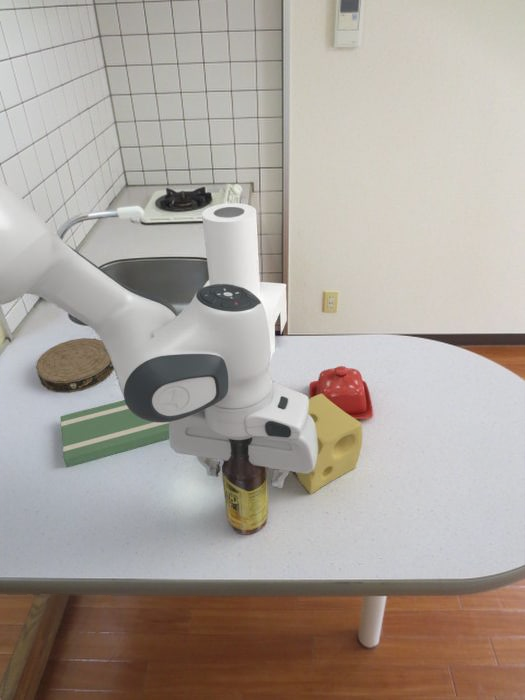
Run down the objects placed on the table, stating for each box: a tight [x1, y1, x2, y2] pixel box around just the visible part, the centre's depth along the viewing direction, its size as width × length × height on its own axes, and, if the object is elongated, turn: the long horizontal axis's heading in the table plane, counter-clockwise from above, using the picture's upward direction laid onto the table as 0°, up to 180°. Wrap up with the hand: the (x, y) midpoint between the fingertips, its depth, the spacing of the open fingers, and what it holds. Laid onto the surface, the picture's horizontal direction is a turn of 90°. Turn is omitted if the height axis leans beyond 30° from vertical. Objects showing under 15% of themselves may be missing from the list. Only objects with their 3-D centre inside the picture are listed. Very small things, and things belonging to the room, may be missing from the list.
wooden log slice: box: [35, 337, 114, 394], centre depth 113 cm, size 16×16×3 cm
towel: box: [60, 399, 169, 468], centre depth 97 cm, size 22×12×2 cm, turn 111°
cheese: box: [291, 394, 363, 495], centre depth 86 cm, size 10×11×10 cm
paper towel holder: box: [201, 202, 288, 361], centre depth 114 cm, size 19×19×30 cm
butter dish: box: [308, 365, 374, 420], centre depth 99 cm, size 12×12×8 cm
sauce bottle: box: [221, 437, 269, 535], centre depth 74 cm, size 7×6×20 cm
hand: (245, 478), depth 75 cm, fingers open, 8 cm apart
